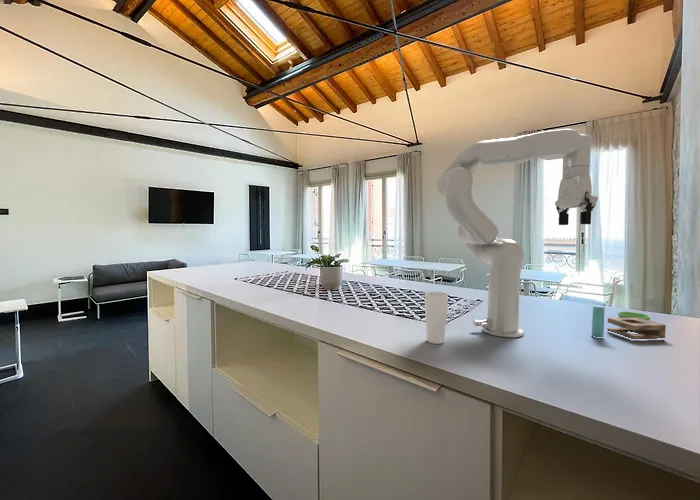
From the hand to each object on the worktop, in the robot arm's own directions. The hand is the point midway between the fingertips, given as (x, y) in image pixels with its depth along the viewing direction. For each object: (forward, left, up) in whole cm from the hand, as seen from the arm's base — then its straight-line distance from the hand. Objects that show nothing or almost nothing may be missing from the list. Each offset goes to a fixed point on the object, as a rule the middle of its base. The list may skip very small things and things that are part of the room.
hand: (573, 224), depth 109 cm
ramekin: (+28, +5, -37) cm, 47 cm away
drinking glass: (-50, -8, -37) cm, 63 cm away
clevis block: (+16, -7, -37) cm, 41 cm away
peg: (+4, -7, -37) cm, 37 cm away
